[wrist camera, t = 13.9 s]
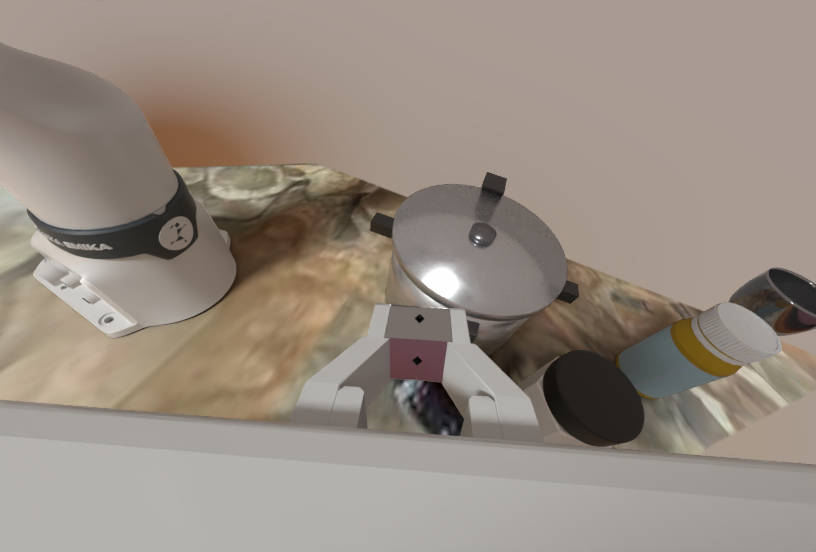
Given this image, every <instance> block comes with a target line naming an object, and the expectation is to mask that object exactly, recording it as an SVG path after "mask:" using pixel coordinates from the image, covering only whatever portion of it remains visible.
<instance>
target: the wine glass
mask: <svg viewBox="0 0 816 552" xmlns="http://www.w3.org/2000/svg"><path fill="white" fill-rule="evenodd" d="M729 303H734V304H737V305H740V306H742V307H744V308H746V309H748V310H750V311H752V312H753V313H755V314H756V315H757V316H759V317H760V318H761V319H763V320H764V321H765V322H766V323H767V324H768V325H769V326H770V327H771V328H772V329H773V330H774V332H775V333H776V334H777V336H786V335H792V334H797V333H802V332H805V331H810V330H813V329H816V284H814V283H813V282H811V281H810V280H808V279H806V278H805V277H803V276H801V275H799V274H796V273H794V272H792V271H789V270H786V269H782V268H771V269H769V270H767V271H765V272H764V273H762V274H760V275H758V276H757V277H755V278H753V279H752V280H750V281H749V282H747V283H746V284H745V285H743V286H742V287H740V288H739V289H738V290H737V291H736V292H735V293H734V294H733V295H732V297H731V298H730V300H729Z"/></svg>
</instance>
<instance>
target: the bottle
mask: <svg viewBox="0 0 816 552" xmlns="http://www.w3.org/2000/svg"><path fill="white" fill-rule="evenodd" d="M781 349H782V344H781V341H780V339H779V337H778V336H777V334H776V333H775V332H774V330H773V329H772V328H771V327H770V326H769V325H768V324H767V323H766V322H765V321H764V320H763V319H761V318H760V317H759V316H757V315H756V314H755V313H753V312H752V311H750V310H748V309H746V308H744V307H742V306H740V305H737V304H734V303H729V302H724V303H720V304H717V305H716V306H714V307H712V308H710V309H708V310H706V311H704V312H702V313H701V314H699V315H697V316H695V317H694V318H688V319H682V320H680V321H678V322H675V323H674V324H672V325H670V326H668V327H666V328H664V329H663V330H661V331H659V332H657V333H655V334H653V335H652V336H650V337H648V338H646V339H644V340H642V341H641V342H639V343H637V344H635V345H633V346H631V347H630V348H628V349H626V350H624V351H622V352H621V353H619V354H618V356H617V357H616V366H617V367H618V368H619V369H621V370H622V371H623V373H624V374H625V375H626V376H627V377H628V378H629V380H630V381H631V382H632V384H633V385H634V387H635V388H636V390H637V392H638V394H639V395H640V396H642V397H644V398H648V399H659V398H663V397H666V396H669V395H672V394H675V393H678V392H681V391H684V390H687V389H691V388H694V387H697V386H700V385H703V384H706V383H709V382H712V381H715V380H718V379H721V378H724V377H727V376H729V375H732V374H734V373H735V372H737V371H738V370H739V369H740V368H741V367H742V366H743V365H746V364H749V363H752V362H757V361H760V360H763V359H766V358H768V357H771V356H774V355H777V354H778V353H779V352H780V351H781Z"/></svg>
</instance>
